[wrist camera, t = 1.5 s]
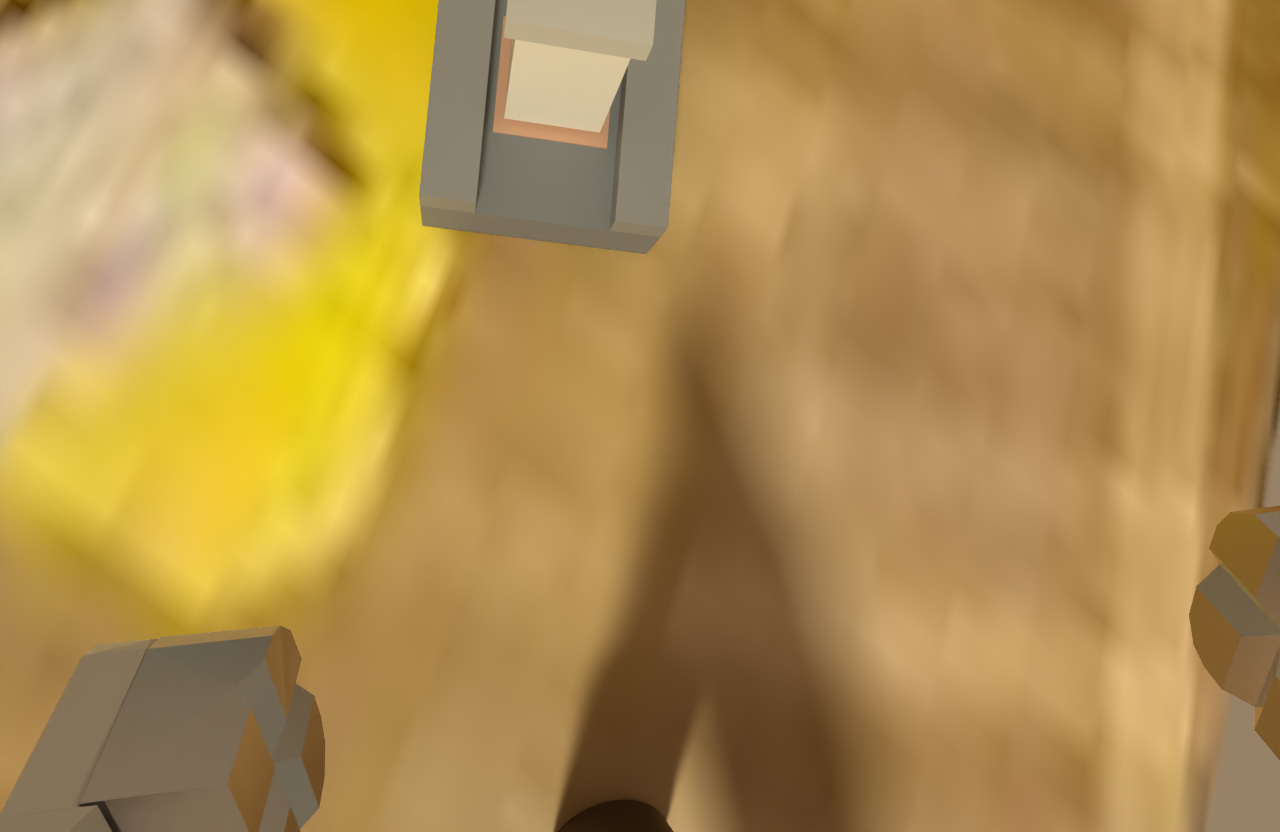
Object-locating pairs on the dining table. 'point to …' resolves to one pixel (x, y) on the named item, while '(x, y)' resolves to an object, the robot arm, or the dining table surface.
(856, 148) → the dining table surface
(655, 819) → the stool
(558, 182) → the switch panel
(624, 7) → the switch knob
